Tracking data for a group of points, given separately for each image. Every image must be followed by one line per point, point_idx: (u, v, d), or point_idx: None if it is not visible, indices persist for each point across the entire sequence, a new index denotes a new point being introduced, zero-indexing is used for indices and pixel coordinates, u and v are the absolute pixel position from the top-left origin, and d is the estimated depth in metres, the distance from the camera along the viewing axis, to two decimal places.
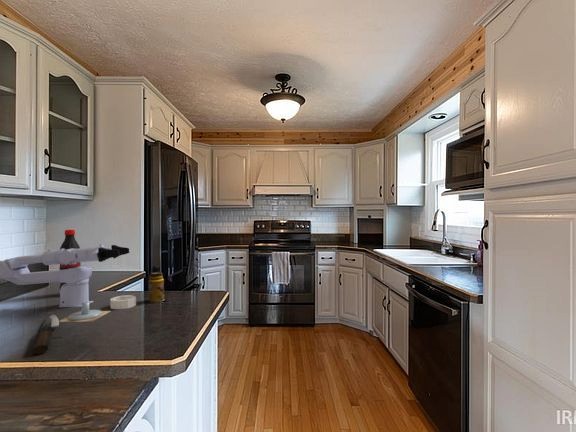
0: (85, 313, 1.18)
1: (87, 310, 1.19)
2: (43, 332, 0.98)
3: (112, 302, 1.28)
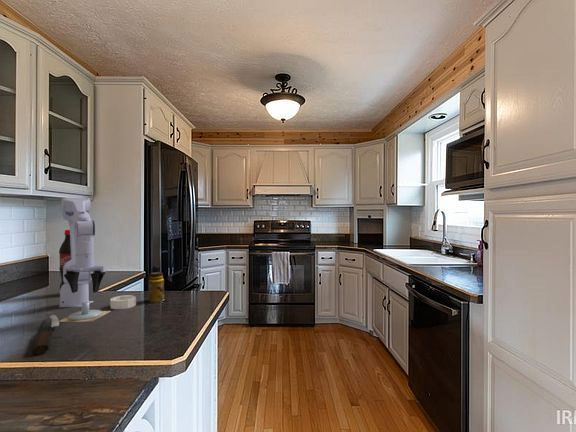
0: (85, 313, 1.18)
1: (87, 310, 1.19)
2: (43, 332, 0.98)
3: (112, 302, 1.28)
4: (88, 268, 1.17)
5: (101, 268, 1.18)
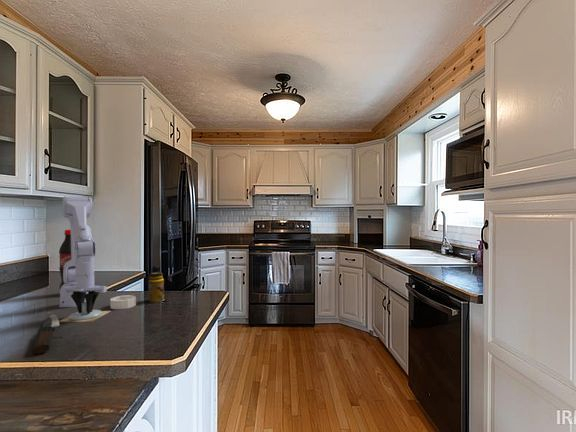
0: (85, 313, 1.18)
1: None
2: (44, 332, 0.98)
3: (112, 302, 1.28)
4: (88, 289, 1.17)
5: (101, 289, 1.18)
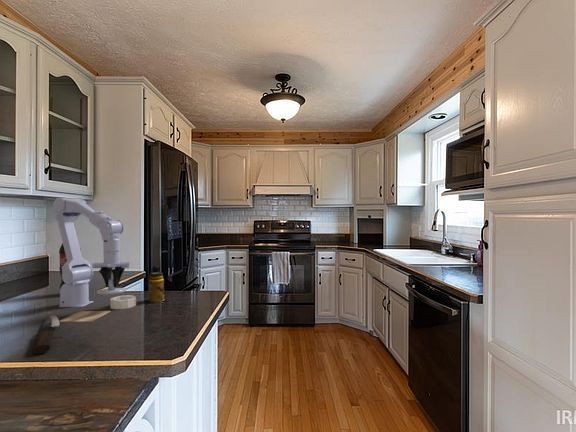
0: (111, 289, 1.27)
1: (113, 286, 1.27)
2: (44, 332, 0.98)
3: (112, 302, 1.28)
4: (115, 264, 1.26)
5: (127, 264, 1.27)
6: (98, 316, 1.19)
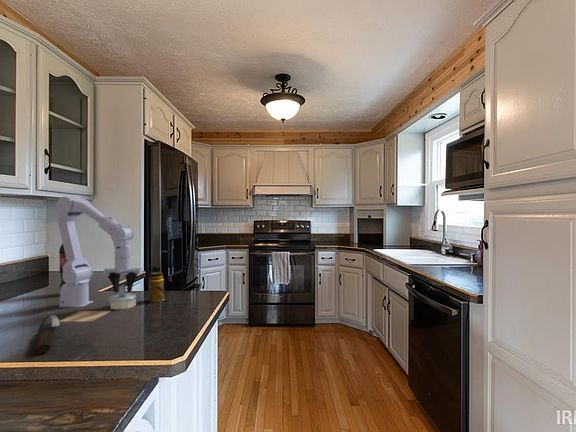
0: (122, 296, 1.30)
1: (124, 293, 1.31)
2: (44, 332, 0.98)
3: (112, 302, 1.28)
4: (126, 270, 1.30)
5: (138, 270, 1.31)
6: (98, 316, 1.19)
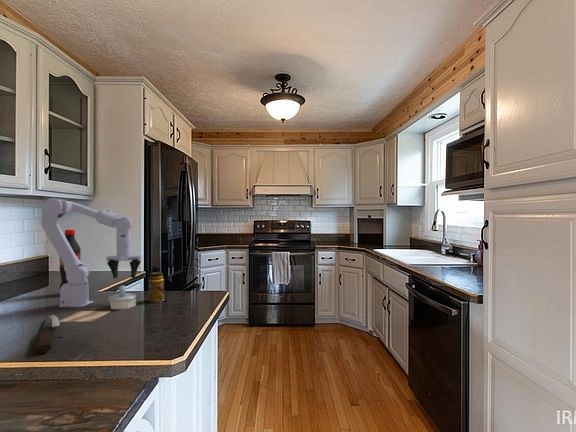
0: (122, 296, 1.30)
1: (124, 293, 1.31)
2: (44, 332, 0.98)
3: (112, 302, 1.28)
4: (127, 257, 1.39)
5: (138, 257, 1.40)
6: (98, 316, 1.19)
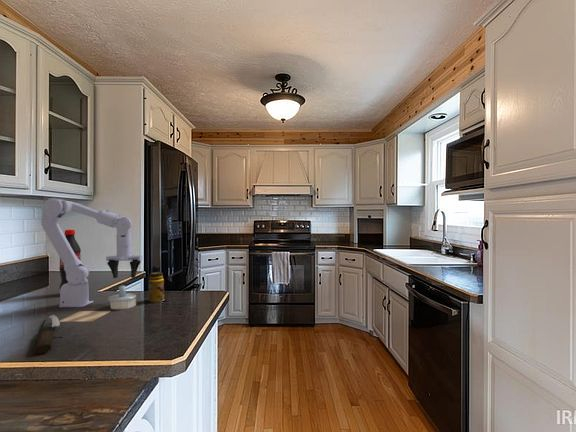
0: (122, 296, 1.30)
1: (124, 293, 1.31)
2: (45, 332, 0.98)
3: (112, 302, 1.28)
4: (127, 257, 1.39)
5: (138, 257, 1.40)
6: (98, 316, 1.19)
